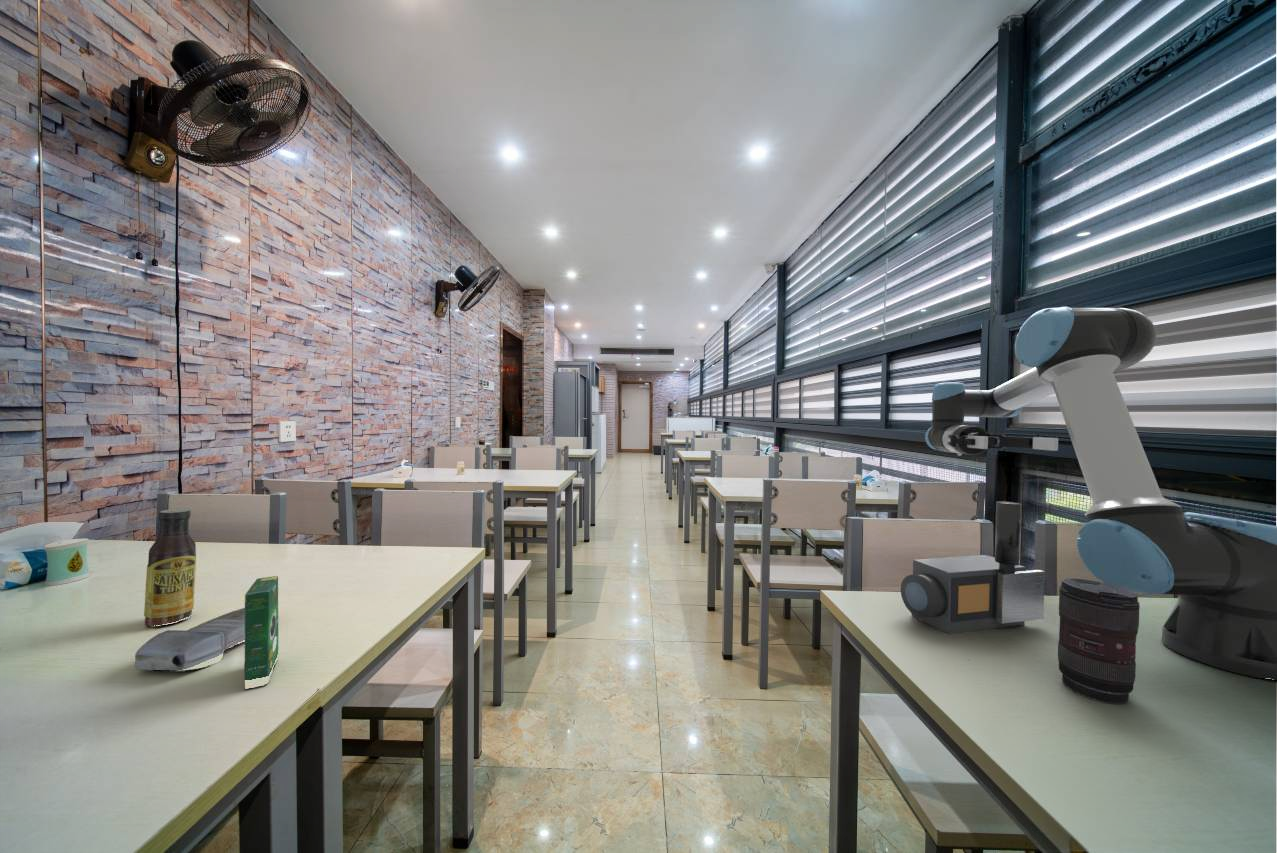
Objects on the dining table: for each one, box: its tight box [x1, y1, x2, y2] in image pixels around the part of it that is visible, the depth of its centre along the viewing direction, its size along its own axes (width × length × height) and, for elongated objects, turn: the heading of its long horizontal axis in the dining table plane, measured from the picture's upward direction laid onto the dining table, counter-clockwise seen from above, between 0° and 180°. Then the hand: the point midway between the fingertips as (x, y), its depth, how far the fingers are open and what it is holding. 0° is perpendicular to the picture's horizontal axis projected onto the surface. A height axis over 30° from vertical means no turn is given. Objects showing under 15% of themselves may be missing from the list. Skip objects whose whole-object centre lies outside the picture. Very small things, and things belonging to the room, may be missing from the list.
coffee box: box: [243, 575, 279, 680], centre depth 66 cm, size 8×3×13 cm, turn 30°
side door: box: [994, 500, 1046, 624], centre depth 86 cm, size 10×4×22 cm, turn 104°
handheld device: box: [134, 607, 245, 672], centre depth 75 cm, size 10×20×5 cm, turn 178°
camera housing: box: [900, 554, 1027, 634], centre depth 88 cm, size 21×8×11 cm, turn 104°
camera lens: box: [1057, 577, 1141, 705], centre depth 66 cm, size 8×8×15 cm
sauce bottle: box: [143, 508, 197, 627], centre depth 82 cm, size 6×6×20 cm
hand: (1020, 443), depth 99 cm, fingers open, 13 cm apart
